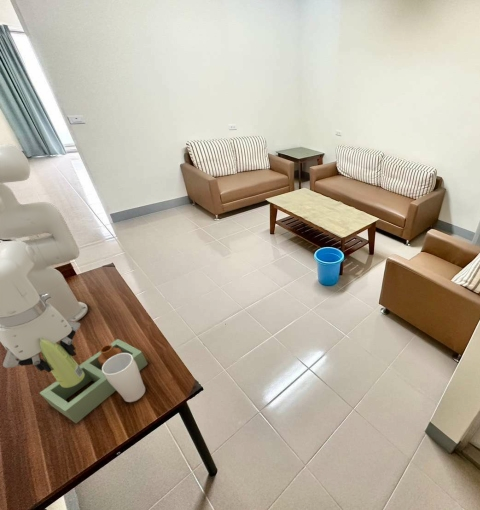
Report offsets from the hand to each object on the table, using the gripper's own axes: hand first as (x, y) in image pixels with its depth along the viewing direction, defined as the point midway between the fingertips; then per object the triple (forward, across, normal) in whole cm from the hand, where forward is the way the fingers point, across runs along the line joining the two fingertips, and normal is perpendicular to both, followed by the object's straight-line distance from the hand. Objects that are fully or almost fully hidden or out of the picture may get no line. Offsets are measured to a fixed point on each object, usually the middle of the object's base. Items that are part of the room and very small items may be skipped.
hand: (58, 360), depth 68 cm
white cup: (+17, -6, +12) cm, 21 cm away
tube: (+9, 0, 0) cm, 9 cm away
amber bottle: (+17, -9, +1) cm, 19 cm away
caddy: (+17, -4, +1) cm, 17 cm away
